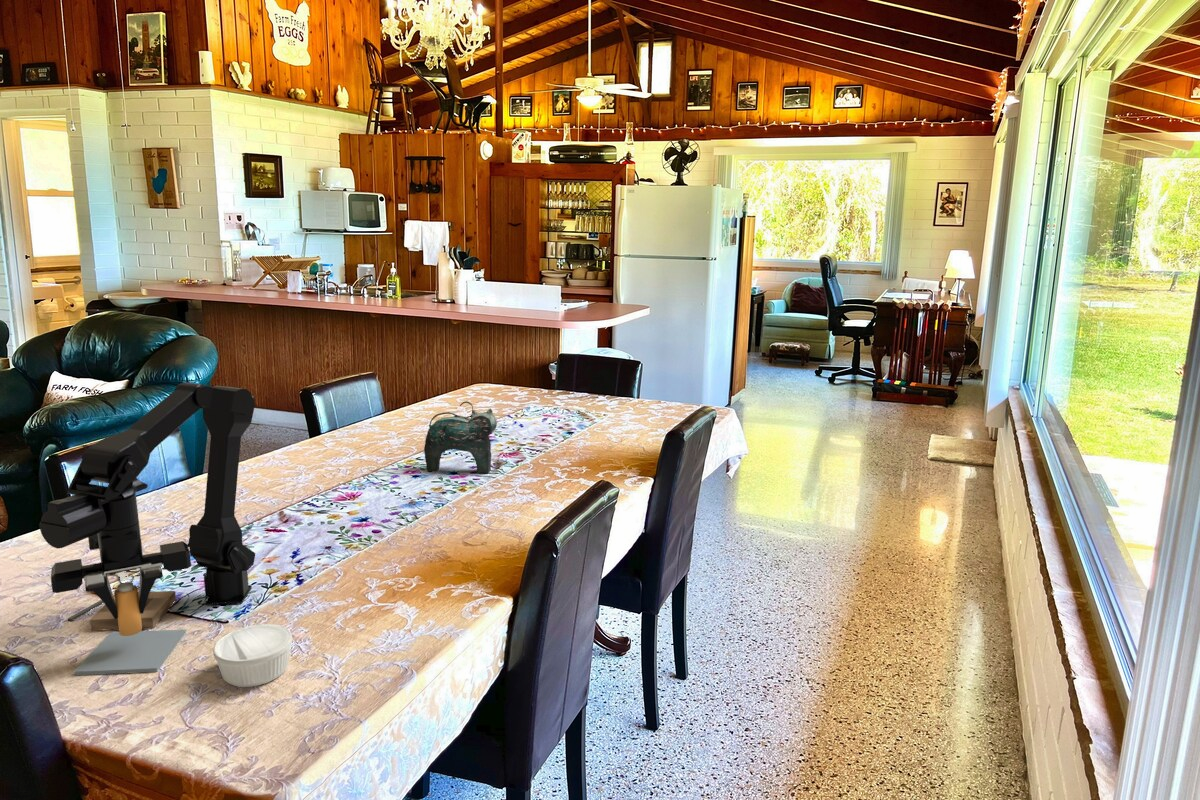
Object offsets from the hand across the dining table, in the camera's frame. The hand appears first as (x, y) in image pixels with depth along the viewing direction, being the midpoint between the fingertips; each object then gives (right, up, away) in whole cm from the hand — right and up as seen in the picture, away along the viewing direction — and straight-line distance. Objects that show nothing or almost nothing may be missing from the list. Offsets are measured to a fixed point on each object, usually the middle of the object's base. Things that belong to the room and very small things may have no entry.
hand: (129, 615), depth 130 cm
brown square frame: (-7, -4, +13) cm, 15 cm away
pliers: (-16, 0, +29) cm, 33 cm away
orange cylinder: (0, -3, +1) cm, 3 cm away
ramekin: (+21, -8, -3) cm, 23 cm away
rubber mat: (0, -7, +1) cm, 7 cm away
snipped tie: (-16, -3, +14) cm, 21 cm away
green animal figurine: (+36, +14, +96) cm, 104 cm away
